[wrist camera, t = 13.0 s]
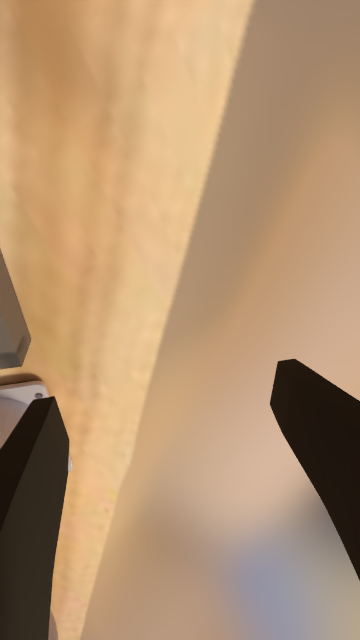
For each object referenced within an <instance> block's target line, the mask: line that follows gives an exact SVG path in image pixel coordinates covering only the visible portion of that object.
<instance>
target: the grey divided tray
mask: <svg viewBox="0 0 360 640" xmlns="http://www.w3.org/2000/svg"><path fill="white" fill-rule="evenodd" d="M30 342H31V337H30V334H29V331H28V328H27V325H26V322H25V319H24V316H23V313H22V311H21V308H20V305H19V302H18V299H17V296H16V293H15V290H14V287H13V284H12V281H11V279H10V276H9V273H8V270H7V267H6V264H5V261H4V258H3V255H2V252H1V249H0V369H6V368H14V367H21V366H22V365H23V362H24V359H25V356H26V353H27V350H28V348H29V345H30Z"/></svg>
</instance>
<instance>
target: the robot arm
mask: <svg viewBox="0 0 360 640" xmlns="http://www.w3.org/2000/svg"><path fill="white" fill-rule="evenodd" d="M36 393H41V394H36ZM270 406H271V408H272V411H273V413H274V415H275V418H276V420H277V422H278V425H279V427H280V429H281V431H282V433H283V435H284V437H285V438H286V440H287V442H288V444H289V445H290V447H291V449H292V450H293V452H294V454H295V456H296V457H297V459H298V461H299V462H300V464H301V466H302V467H303V469H304V471H305V472H306V474H307V476H308V477H309V479H310V481H311V483H312V484H313V486H314V488H315V489H316V491H317V493H318V494H319V496H320V498H321V500H322V502H323V503H324V505H325V507H326V509H327V511H328V513H329V515H330V517H331V519H332V521H333V523H334V525H335V528H336V530H337V532H338V534H339V536H340V538H341V540H342V542H343V544H344V547H345V549H346V551H347V553H348V555H349V558H350V560H351V562H352V564H353V567H354V569H355V571H356V573H357V575H358V578H359V580H360V401H359V400H357V399H356V398H354V397H352V396H351V395H349V394H348V393H346V392H345V391H343V390H342V389H340V388H338V387H337V386H336V385H334V384H332V383H331V382H330V381H328V380H326V379H325V378H323V377H322V376H321V375H319V374H317V373H316V372H315V371H313V370H312V369H310V368H308V367H307V366H305V365H304V364H302V363H301V362H299V361H297V360H296V359H290V360H284V361H278V364H277V369H276V374H275V380H274V384H273V390H272V395H271V400H270ZM72 468H73V463H72V460H71V457H70V454H69V438H68V435H67V432H66V429H65V426H64V423H63V420H62V417H61V414H60V411H59V408H58V405H57V402H56V399H55V396H53V397H50V396H49V394H48V391H47V388H46V385H45V384H44V383H43V382H41V381H30V382H24V383H17V384H10V385H3V386H0V640H58V633H57V626H56V622H55V619H54V616H53V614H52V612H51V610H50V606H51V592H52V578H53V569H54V561H55V553H56V547H57V541H58V535H59V528H60V522H61V516H62V509H63V503H64V496H65V490H66V483H67V477H68V472H69V471H71V470H72Z"/></svg>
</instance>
